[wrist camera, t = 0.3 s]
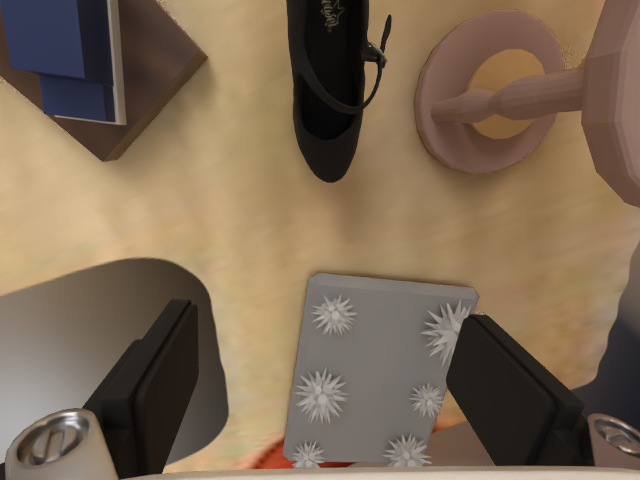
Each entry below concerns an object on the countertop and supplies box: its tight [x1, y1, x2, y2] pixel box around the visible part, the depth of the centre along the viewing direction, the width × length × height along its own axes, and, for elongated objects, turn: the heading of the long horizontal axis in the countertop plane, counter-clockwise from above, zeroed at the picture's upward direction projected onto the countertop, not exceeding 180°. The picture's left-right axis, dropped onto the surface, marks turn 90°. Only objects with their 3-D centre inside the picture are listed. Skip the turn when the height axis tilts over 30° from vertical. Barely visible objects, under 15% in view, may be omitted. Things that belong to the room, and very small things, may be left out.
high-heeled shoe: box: [286, 0, 391, 183], centre depth 26 cm, size 8×19×20 cm, turn 9°
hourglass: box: [414, 0, 640, 208], centre depth 26 cm, size 18×18×25 cm
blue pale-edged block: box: [0, 0, 127, 125], centre depth 27 cm, size 13×6×6 cm, turn 173°
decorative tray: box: [282, 273, 484, 469], centre depth 45 cm, size 35×26×10 cm
